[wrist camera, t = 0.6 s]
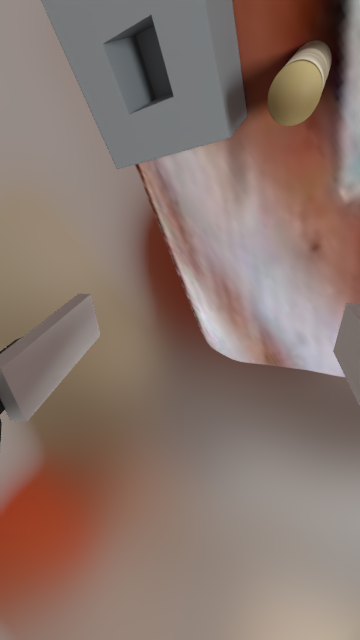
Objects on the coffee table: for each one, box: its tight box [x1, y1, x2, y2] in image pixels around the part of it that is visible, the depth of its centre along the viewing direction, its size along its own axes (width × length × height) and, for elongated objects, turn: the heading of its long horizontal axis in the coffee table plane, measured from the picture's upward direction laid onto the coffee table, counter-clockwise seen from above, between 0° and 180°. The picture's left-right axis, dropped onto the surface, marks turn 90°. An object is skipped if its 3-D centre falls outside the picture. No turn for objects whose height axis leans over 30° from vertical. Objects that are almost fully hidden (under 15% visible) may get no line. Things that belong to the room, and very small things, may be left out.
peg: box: [268, 40, 331, 126], centre depth 25 cm, size 4×4×12 cm
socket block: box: [41, 0, 247, 169], centre depth 30 cm, size 16×16×8 cm
